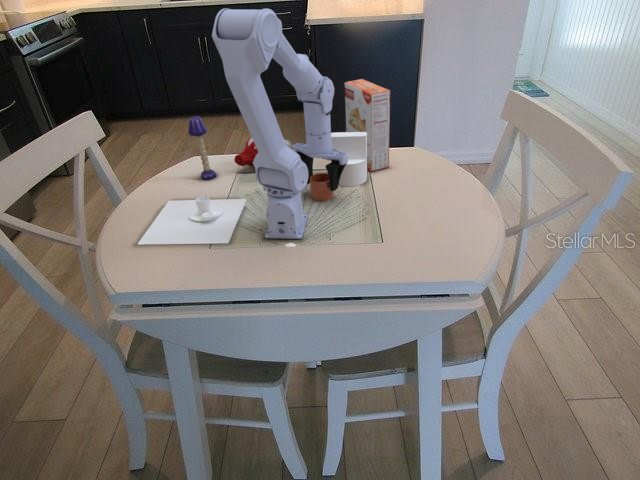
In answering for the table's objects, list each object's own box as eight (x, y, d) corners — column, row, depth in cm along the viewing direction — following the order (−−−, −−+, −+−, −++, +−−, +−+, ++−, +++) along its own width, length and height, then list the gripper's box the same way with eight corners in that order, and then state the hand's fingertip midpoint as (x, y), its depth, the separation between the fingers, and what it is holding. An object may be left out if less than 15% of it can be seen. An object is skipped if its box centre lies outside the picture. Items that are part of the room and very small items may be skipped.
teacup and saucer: (217, 224, 103) (214, 208, 101) (183, 225, 104) (179, 209, 102) (226, 205, 111) (223, 190, 109) (194, 206, 111) (191, 191, 109)
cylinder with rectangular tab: (367, 171, 123) (367, 127, 116) (366, 186, 115) (366, 140, 109) (333, 171, 124) (331, 128, 117) (331, 186, 116) (328, 141, 110)
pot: (332, 201, 109) (331, 182, 107) (309, 201, 110) (308, 182, 107) (335, 191, 114) (334, 172, 111) (312, 191, 115) (311, 172, 112)
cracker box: (345, 155, 133) (343, 81, 121) (363, 151, 134) (363, 77, 123) (370, 173, 122) (370, 93, 110) (389, 168, 124) (391, 89, 112)
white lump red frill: (297, 163, 129) (250, 184, 123) (277, 151, 137) (233, 170, 131) (290, 133, 123) (241, 154, 118) (271, 123, 131) (224, 142, 126)
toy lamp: (214, 180, 124) (202, 119, 114) (197, 181, 124) (183, 121, 115) (217, 173, 128) (206, 113, 118) (201, 174, 128) (188, 114, 119)
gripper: (355, 130, 102) (355, 186, 109) (304, 121, 110) (308, 173, 117) (336, 140, 97) (338, 198, 104) (284, 130, 105) (290, 183, 112)
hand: (321, 185), depth 110 cm, fingers open, 7 cm apart
